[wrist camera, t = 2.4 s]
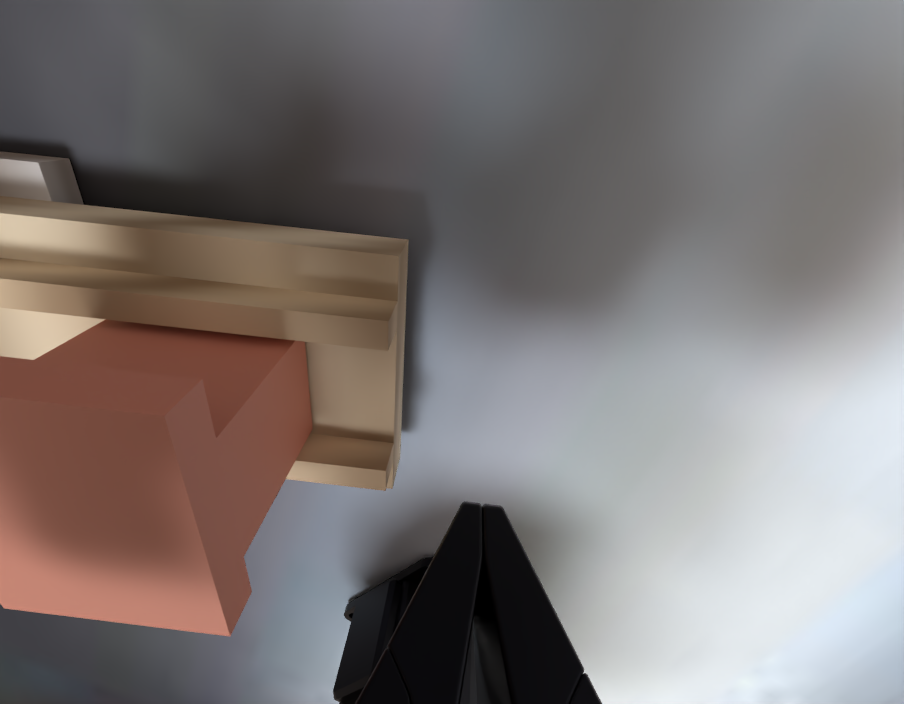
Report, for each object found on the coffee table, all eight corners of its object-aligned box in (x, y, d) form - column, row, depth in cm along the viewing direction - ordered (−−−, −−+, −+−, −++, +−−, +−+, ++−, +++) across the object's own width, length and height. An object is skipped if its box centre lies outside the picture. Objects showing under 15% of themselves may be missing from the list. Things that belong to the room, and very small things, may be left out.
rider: (299, 285, 11) (164, 415, 6) (315, 459, 14) (229, 636, 9) (107, 263, 11) (-163, 378, 7) (163, 442, 14) (3, 608, 10)
